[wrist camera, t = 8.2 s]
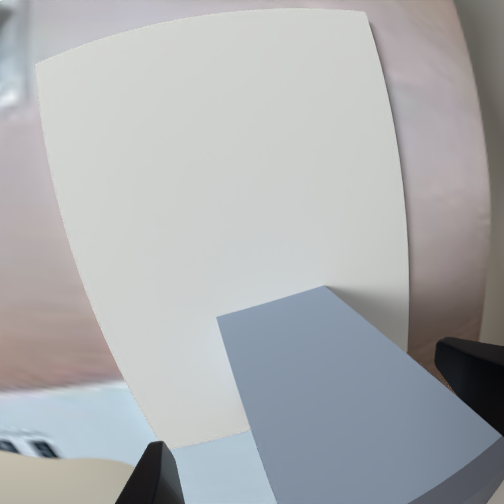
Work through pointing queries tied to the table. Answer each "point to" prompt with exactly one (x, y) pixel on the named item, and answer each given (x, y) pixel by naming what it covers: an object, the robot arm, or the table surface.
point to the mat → (223, 191)
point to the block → (352, 410)
